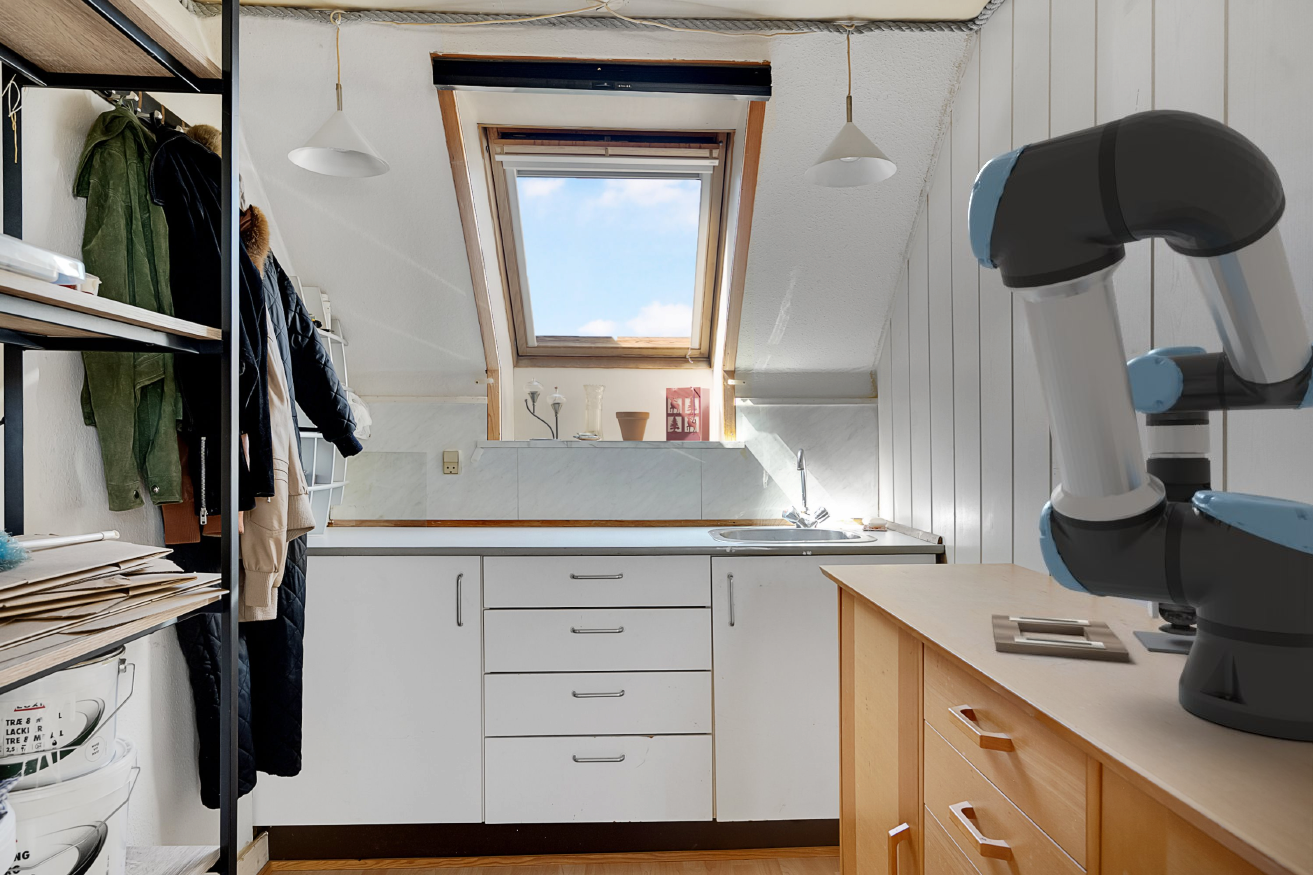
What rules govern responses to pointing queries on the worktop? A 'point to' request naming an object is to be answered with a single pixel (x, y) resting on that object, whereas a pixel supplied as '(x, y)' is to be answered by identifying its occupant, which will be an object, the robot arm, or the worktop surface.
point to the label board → (1096, 634)
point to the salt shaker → (1178, 619)
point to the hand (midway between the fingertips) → (1180, 617)
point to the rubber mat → (1165, 642)
